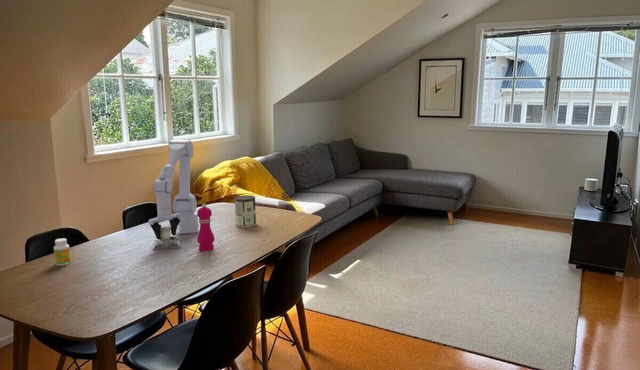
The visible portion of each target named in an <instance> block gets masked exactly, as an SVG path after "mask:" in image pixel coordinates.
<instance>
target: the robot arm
mask: <svg viewBox="0 0 640 370" xmlns="http://www.w3.org/2000/svg"><path fill="white" fill-rule="evenodd" d="M167 145H168V152H169V155H168V158H167V161H166V163H165V164H166V165H163V166H162V168H161V170H160V173H159V176H158V178H157V179H156V180H154V182H153V184H152V185H153V186H152V189H153V193H154V196H155V197H156V211H157V216H156V217H154V218H150V219H148V225H149V226H150V228H151V229H152V232H153V233H154V235H155V240H156V239H158V240H160V239H161V227H162V224H160V223H163V222H167V221H168V222H169V225H170V226H169V227H171V230H170V235H172V236H176V234H177V235H182V234H193V233H199V229H200V223H199V217H198V216H197V212H196V211H197V208H198V207H197V206H198V205H197V199H196V196H195V195H194V194H192V193H191V159H192V158H193V157H194V144H193V142H192V140H191V139H188V140H187V139H184V140H183V139H177V140H176V139H171V140H169V141H168V144H167ZM178 161H179V165H178V166H179V167H178V170H179V171H178V173H179V176H178V177H179V180H178V185H179V186H178V189H179V190H178V194H176V195H175V196H174V198H173V204H172V201H171V193H172V190H173V180H174V177H175V174H176V169H175V167H176V165H177V164H178ZM172 209H173V211H174V213H172Z"/></svg>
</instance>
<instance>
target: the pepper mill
mask: <svg viewBox="0 0 640 370" xmlns="http://www.w3.org/2000/svg"><path fill="white" fill-rule="evenodd" d="M196 211H197V212H196V213H197V216H198V224H199V230H198V234H197V237H196V242H197V243H198V250H199V252H211V251H213V250H214V249H215V245H214V242H215V240H216V239H215V235H214V233H213V231H212V228H211V221H212V219H211V216H212V215H213V212H212V209H211V208H210V207H207V204H206V203H202V204H201V207H200V208H199V209H198V210H196Z"/></svg>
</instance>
